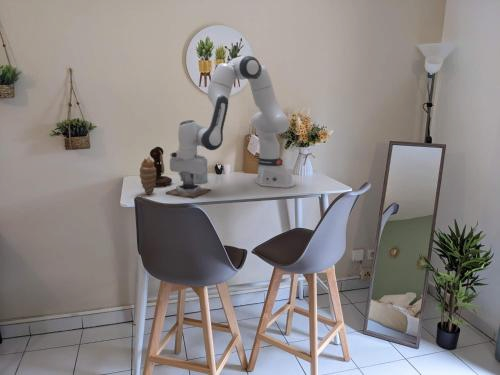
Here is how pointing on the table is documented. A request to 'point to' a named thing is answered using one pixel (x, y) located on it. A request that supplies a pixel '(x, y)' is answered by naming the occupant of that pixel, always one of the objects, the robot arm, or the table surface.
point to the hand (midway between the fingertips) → (188, 181)
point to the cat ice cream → (148, 175)
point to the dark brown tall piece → (159, 166)
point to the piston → (188, 180)
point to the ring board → (203, 190)
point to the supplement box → (202, 177)
